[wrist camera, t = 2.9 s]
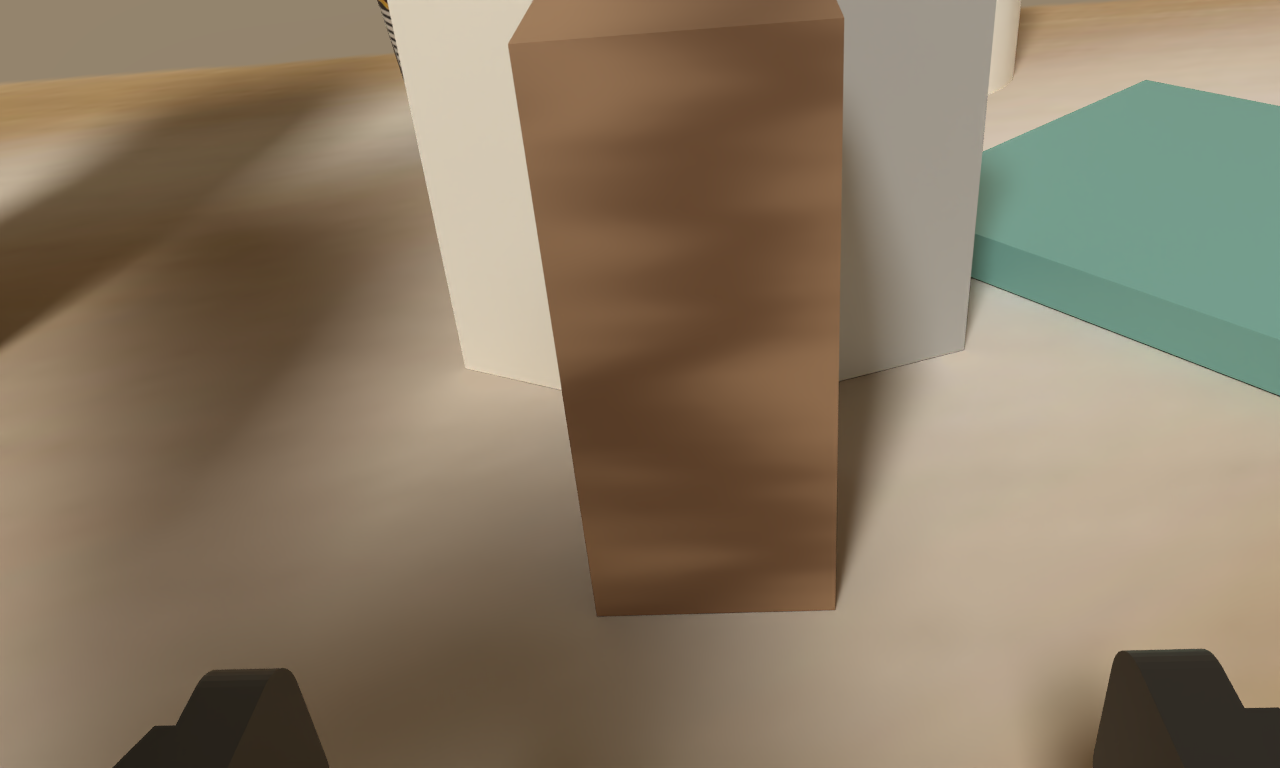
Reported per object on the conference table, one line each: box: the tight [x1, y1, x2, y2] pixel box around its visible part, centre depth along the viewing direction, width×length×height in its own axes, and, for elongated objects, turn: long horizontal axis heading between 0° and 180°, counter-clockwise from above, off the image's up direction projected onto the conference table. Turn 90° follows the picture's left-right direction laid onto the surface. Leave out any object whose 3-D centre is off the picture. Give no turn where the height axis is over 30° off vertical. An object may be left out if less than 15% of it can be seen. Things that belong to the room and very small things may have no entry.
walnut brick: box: [508, 0, 844, 616], centre depth 21 cm, size 5×5×12 cm
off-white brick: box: [387, 0, 562, 390], centre depth 29 cm, size 5×5×12 cm
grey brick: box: [837, 0, 997, 381], centre depth 28 cm, size 5×5×12 cm
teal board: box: [971, 80, 1280, 396], centre depth 34 cm, size 16×16×2 cm
